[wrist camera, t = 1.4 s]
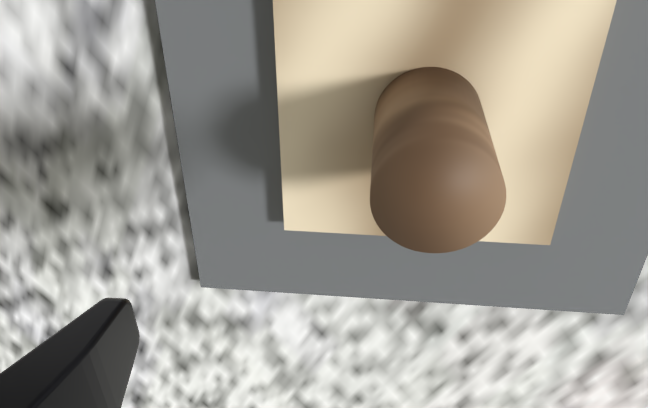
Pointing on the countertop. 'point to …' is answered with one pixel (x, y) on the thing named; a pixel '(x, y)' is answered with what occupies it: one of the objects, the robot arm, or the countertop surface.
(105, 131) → the countertop surface
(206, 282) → the mat
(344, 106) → the lid
